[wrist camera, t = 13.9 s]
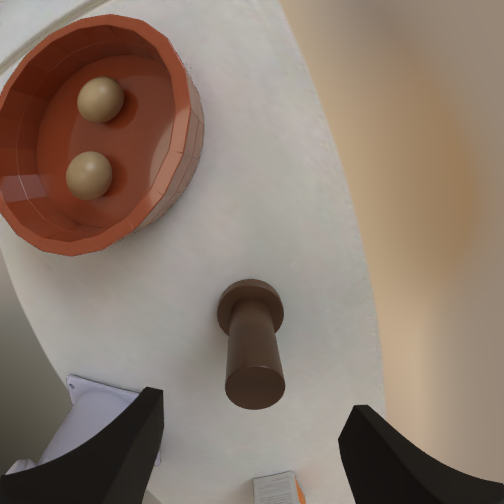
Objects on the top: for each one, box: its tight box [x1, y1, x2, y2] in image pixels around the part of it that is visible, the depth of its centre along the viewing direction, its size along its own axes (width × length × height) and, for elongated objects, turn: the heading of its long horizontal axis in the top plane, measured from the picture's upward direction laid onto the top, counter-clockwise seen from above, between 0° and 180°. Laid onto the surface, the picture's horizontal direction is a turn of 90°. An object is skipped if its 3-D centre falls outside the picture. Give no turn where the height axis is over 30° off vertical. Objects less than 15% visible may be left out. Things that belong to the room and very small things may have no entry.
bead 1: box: [77, 76, 124, 123], centre depth 14 cm, size 3×3×3 cm
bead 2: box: [66, 151, 112, 201], centre depth 15 cm, size 3×3×3 cm
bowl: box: [0, 14, 204, 256], centre depth 14 cm, size 12×12×5 cm
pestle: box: [217, 279, 285, 410], centre depth 15 cm, size 4×4×8 cm
